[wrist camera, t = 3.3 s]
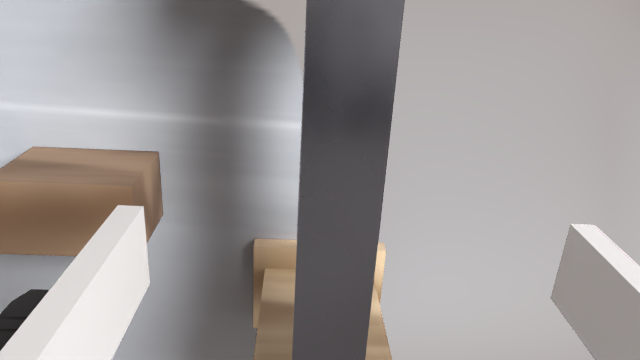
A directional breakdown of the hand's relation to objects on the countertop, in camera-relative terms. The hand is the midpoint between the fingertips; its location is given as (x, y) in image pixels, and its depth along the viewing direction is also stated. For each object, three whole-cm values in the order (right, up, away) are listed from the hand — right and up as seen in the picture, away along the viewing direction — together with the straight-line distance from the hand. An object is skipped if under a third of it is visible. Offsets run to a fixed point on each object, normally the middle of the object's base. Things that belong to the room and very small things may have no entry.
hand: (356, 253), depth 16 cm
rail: (0, +2, +5) cm, 5 cm away
